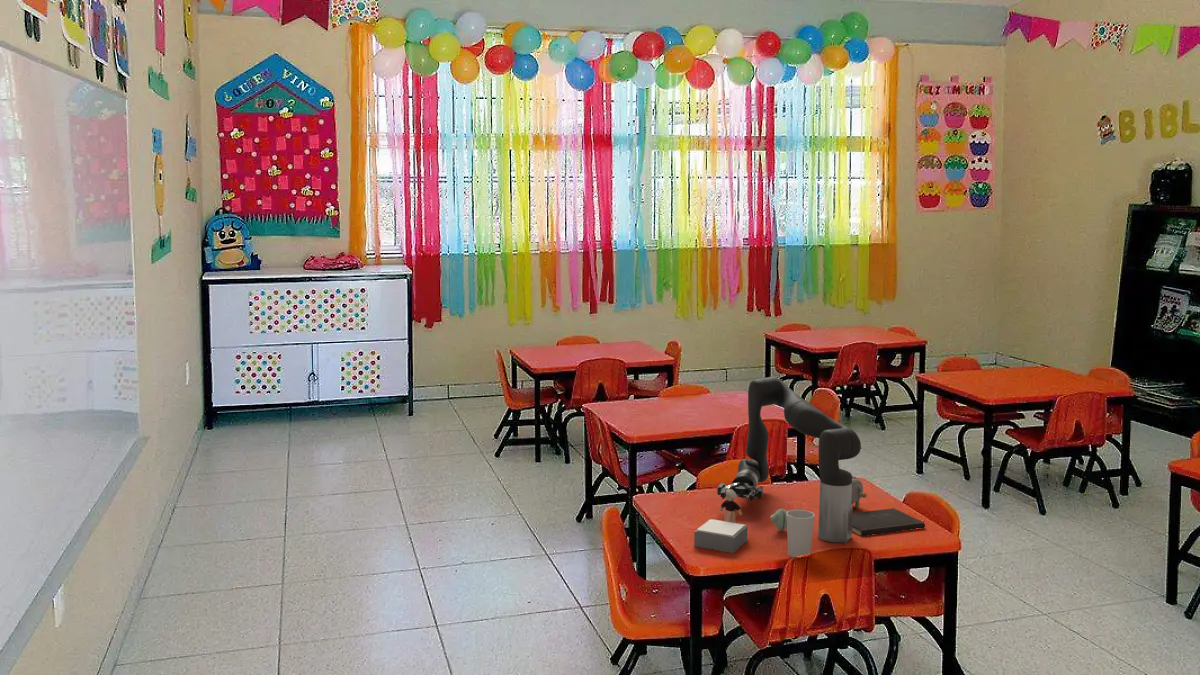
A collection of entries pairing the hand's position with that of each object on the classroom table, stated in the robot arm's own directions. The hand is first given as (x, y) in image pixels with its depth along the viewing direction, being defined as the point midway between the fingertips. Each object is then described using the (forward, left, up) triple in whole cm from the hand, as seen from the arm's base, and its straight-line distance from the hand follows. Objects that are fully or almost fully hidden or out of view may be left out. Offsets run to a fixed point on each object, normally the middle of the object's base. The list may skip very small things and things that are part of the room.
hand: (736, 497), depth 330 cm
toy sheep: (-27, -29, -7) cm, 40 cm away
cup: (-27, +22, -7) cm, 36 cm away
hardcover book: (-41, -16, -8) cm, 45 cm away
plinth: (-4, +24, -7) cm, 25 cm away
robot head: (-16, +4, -7) cm, 18 cm away
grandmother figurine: (-2, +11, -7) cm, 13 cm away
